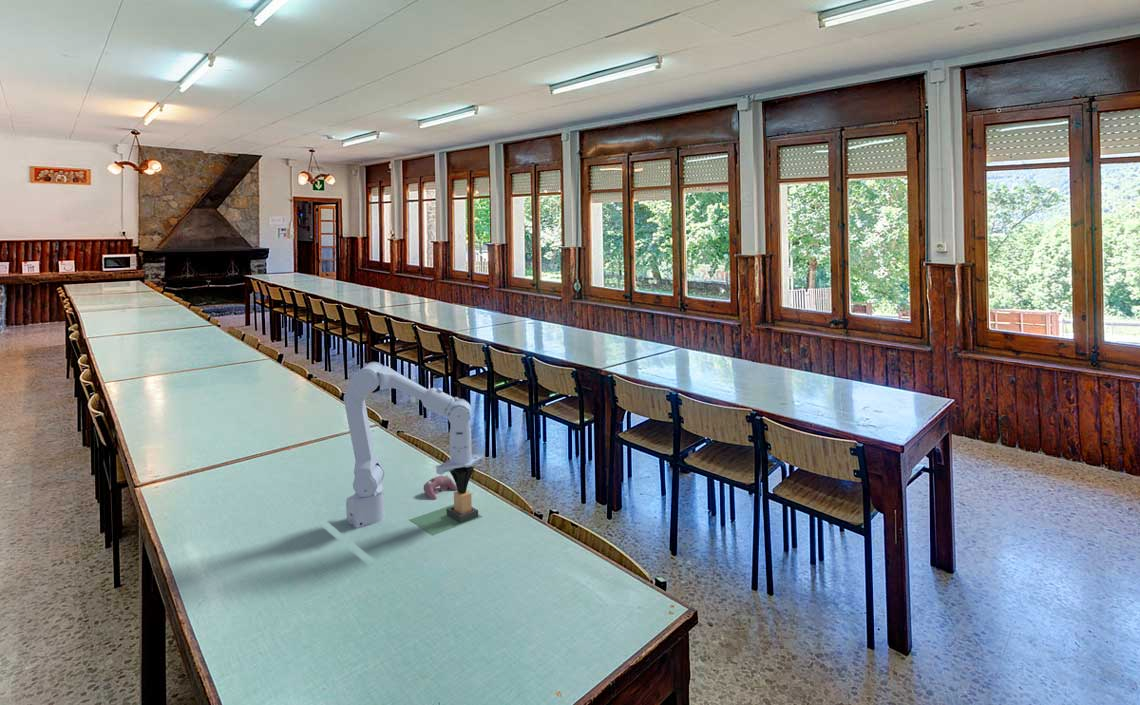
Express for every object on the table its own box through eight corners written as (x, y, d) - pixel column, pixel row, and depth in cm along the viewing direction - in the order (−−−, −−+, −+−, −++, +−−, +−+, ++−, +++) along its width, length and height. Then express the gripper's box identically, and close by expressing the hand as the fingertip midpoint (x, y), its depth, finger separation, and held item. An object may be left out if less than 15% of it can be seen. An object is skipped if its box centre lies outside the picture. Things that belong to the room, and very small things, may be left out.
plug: (462, 520, 167) (462, 496, 166) (454, 515, 170) (453, 492, 169) (471, 517, 169) (471, 493, 168) (463, 512, 172) (462, 489, 171)
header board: (432, 539, 159) (432, 528, 158) (409, 523, 167) (408, 512, 167) (482, 520, 170) (482, 509, 169) (458, 506, 178) (458, 496, 178)
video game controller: (451, 495, 190) (444, 473, 191) (460, 492, 187) (453, 470, 188) (426, 505, 182) (418, 483, 183) (435, 503, 180) (427, 480, 180)
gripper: (446, 455, 158) (447, 504, 161) (491, 442, 168) (491, 489, 171) (431, 448, 163) (432, 496, 166) (476, 436, 173) (476, 481, 176)
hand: (461, 492), depth 168 cm, fingers closed
